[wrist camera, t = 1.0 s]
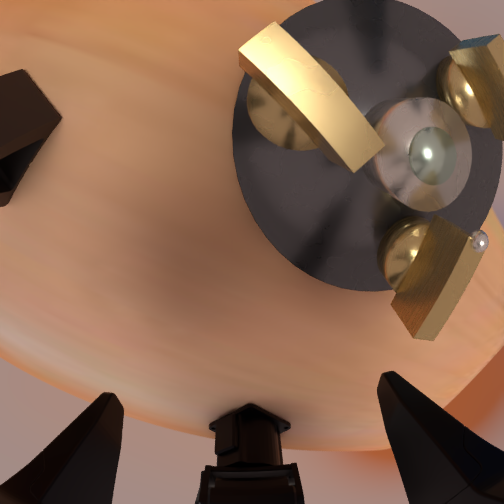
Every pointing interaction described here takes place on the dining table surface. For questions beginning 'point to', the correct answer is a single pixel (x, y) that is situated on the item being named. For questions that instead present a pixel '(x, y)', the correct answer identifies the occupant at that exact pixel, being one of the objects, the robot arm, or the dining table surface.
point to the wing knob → (428, 270)
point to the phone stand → (21, 128)
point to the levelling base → (331, 192)
